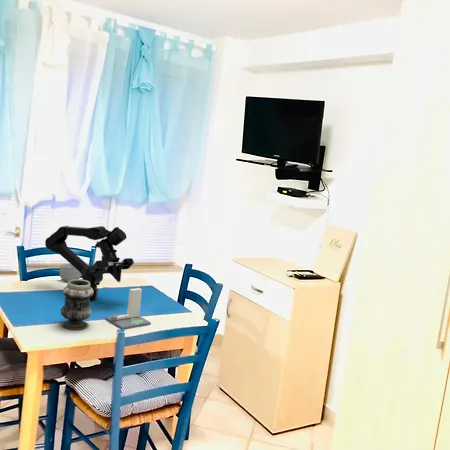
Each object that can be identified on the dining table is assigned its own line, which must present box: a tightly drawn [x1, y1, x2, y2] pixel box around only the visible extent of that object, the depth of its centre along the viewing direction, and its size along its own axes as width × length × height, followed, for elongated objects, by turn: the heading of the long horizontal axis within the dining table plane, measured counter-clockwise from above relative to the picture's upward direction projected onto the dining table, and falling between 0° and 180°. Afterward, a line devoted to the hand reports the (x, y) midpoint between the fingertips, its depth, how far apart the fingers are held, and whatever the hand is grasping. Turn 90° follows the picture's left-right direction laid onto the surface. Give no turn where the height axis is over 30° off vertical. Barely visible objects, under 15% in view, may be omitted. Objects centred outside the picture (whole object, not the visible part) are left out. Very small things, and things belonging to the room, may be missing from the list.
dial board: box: [104, 313, 151, 330], centre depth 227 cm, size 13×14×1 cm
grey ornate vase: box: [60, 278, 94, 331], centre depth 215 cm, size 12×12×18 cm
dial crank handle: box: [110, 287, 143, 321], centre depth 227 cm, size 2×13×12 cm, turn 134°
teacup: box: [59, 263, 82, 283], centre depth 275 cm, size 14×11×8 cm
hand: (119, 281), depth 237 cm, fingers closed
